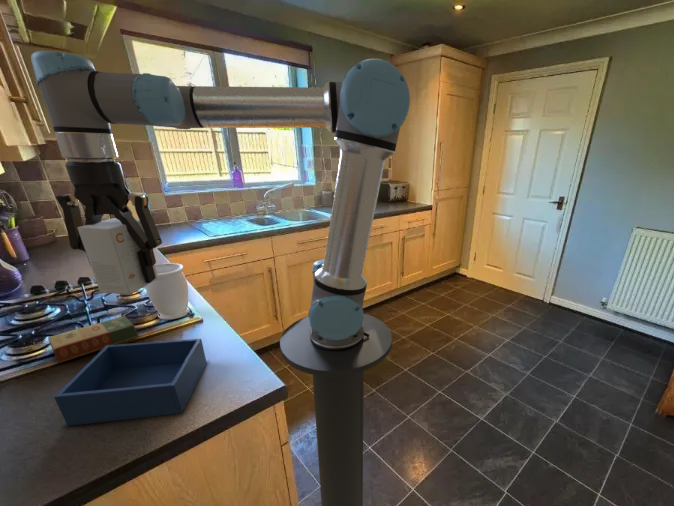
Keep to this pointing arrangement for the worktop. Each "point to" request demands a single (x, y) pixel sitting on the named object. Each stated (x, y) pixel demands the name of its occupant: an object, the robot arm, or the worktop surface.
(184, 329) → the worktop surface
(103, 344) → the carton
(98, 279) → the small box
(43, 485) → the worktop surface
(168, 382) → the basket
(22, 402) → the worktop surface
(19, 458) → the worktop surface
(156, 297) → the jar
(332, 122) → the robot arm
